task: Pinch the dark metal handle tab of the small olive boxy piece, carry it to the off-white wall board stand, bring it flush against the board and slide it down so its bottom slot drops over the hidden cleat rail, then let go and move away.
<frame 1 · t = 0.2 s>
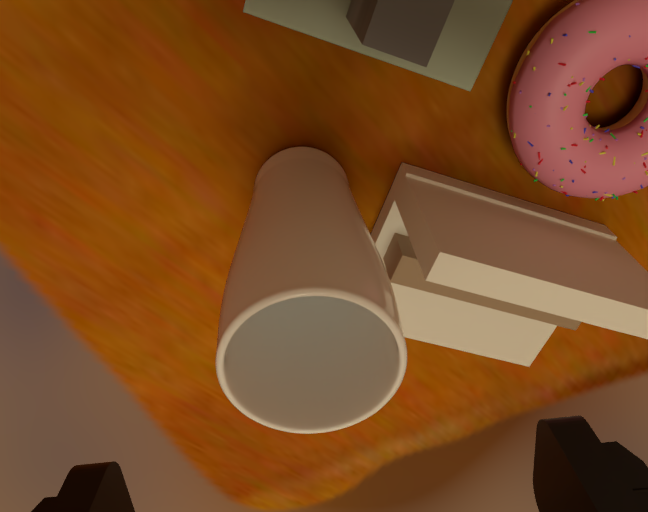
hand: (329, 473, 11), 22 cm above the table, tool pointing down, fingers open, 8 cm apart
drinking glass: (301, 186, 32), on the table
doughnut: (594, 85, 31), on the table
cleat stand: (473, 257, 35), on the table
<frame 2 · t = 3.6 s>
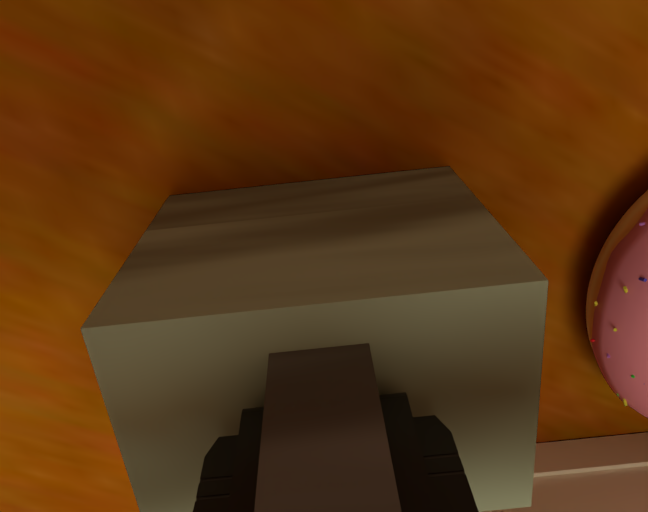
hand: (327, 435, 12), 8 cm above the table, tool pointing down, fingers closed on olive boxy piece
olive boxy piece: (318, 265, 19), on the table, touching gripper
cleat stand: (633, 511, 25), on the table
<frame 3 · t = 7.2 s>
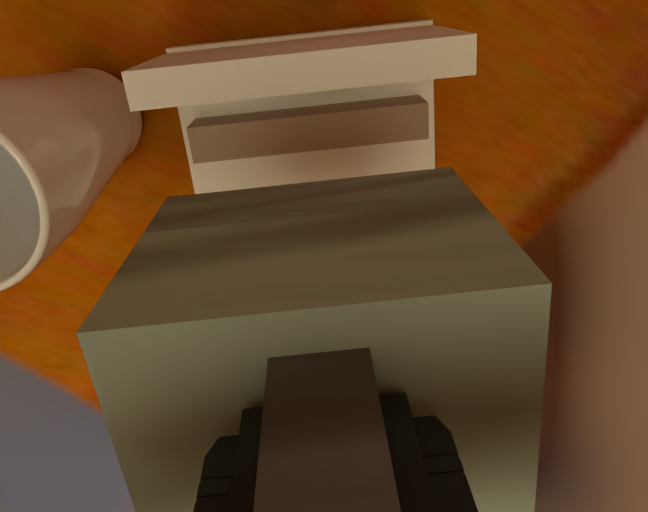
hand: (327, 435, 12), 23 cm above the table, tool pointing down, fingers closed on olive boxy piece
olive boxy piece: (318, 267, 19), point 15 cm above the table, touching gripper
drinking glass: (97, 115, 32), on the table
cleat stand: (308, 118, 32), on the table
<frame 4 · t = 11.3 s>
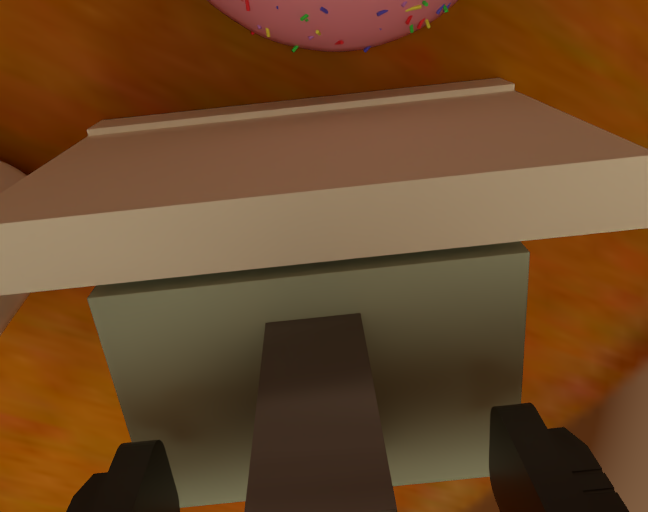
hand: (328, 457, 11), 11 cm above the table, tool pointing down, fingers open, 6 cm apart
olive boxy piece: (314, 249, 20), point 1 cm above the table, touching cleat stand
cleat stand: (313, 221, 21), on the table
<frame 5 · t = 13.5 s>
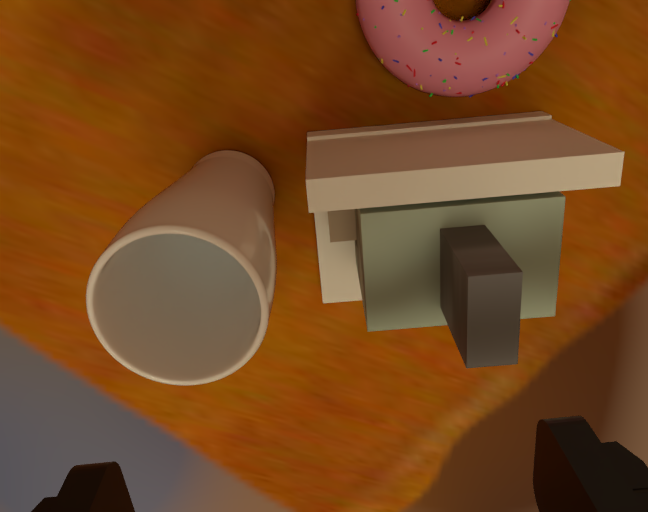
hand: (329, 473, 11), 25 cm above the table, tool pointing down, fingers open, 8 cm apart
olive boxy piece: (429, 211, 33), point 1 cm above the table, touching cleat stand
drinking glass: (231, 190, 35), on the table
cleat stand: (425, 195, 35), on the table
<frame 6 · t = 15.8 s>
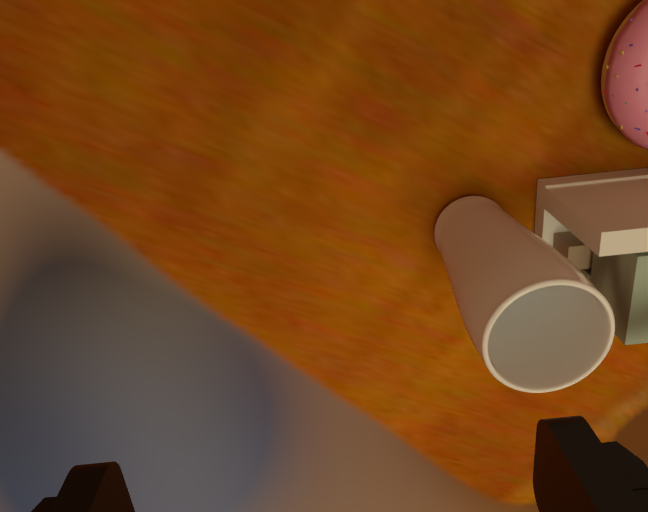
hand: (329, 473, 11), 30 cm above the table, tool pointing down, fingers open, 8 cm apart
olive boxy piece: (634, 241, 41), point 1 cm above the table, touching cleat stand
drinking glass: (467, 226, 42), on the table
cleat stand: (625, 227, 42), on the table
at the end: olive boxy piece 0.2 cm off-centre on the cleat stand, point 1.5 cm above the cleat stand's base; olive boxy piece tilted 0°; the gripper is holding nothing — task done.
